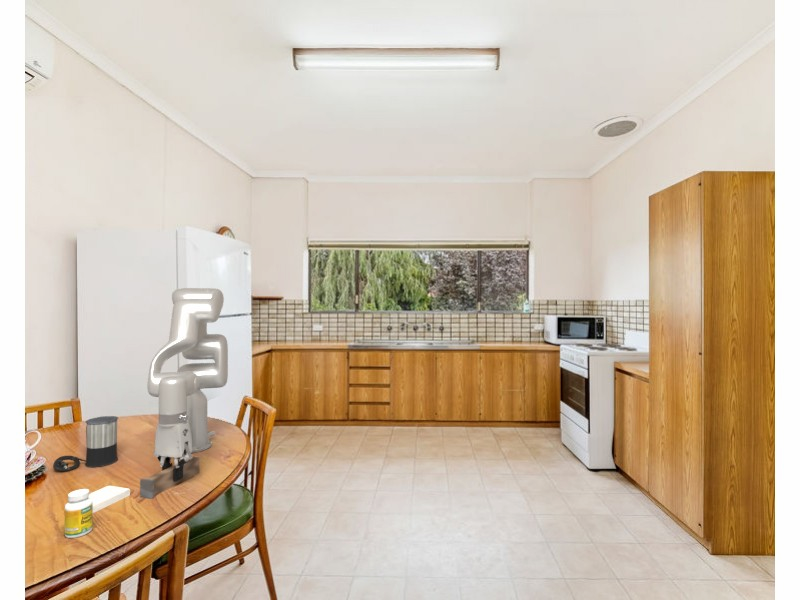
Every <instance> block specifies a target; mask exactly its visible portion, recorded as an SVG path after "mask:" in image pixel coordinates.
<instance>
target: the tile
mask: <svg viewBox="0 0 800 600" xmlns="http://www.w3.org/2000/svg"><path fill="white" fill-rule="evenodd" d="M129 496H131V489H130V488H127V487H121V486H116V485H115V486H114V485H110V484H109V485H107V486H104V487H102V488H100V489H97V490H95V491H92V492H91V493H90V492H89V498H91V499H92V501H93V514H94V513H96V512H98V511H100V510H102V509H105V508H107V507H108V506H111V505H113V504H115V503H118V502H119V501H122V500H123V499H125V498H127V497H129Z"/></svg>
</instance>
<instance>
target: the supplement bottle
mask: <svg viewBox="0 0 800 600" xmlns="http://www.w3.org/2000/svg"><path fill="white" fill-rule="evenodd" d="M89 494H90V489H88V488H82V489H76V490H73V491H71V492H69V493H68V494H67V500H68V502H67V503H65V506H64V536H65V538H68V539H76V538H81V537H83V536H85V535H87V534H89V533H91V531H92V530H93V528H94V527H93V526H94V525H93V524H94V521H93V519H94V516H93V514H94V513H93V501H92V499H91V498H89Z"/></svg>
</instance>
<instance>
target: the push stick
mask: <svg viewBox="0 0 800 600" xmlns="http://www.w3.org/2000/svg"><path fill="white" fill-rule="evenodd" d="M174 468H175V464H174V465H172V467H169V468H167V469H165V470H163V471H162V470H161V471H158V472H156V473H154V474H151V476H150V475H149V476H148V477H147V478H146V477H145V478H143V477H142V478H140V479H139V480H140V482H139V491H140V492H139V498H143V499H147V500H152V499H154V497H155V496H157V495H160V494H161V493H163V492H164V491H167V490H169V489H171V488H173V487H175V486H176V485H179V484H181V483H182V482H185V481H186V480H189V479H190V478H192V477H194V476H196V475H198V474H200V457H199V456H192V459H190V460H188V461H187V462H186V463H185V465H184V466H183V478H182V479H180V480H178V481H176V482H174V481H173V469H174Z"/></svg>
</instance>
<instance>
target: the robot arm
mask: <svg viewBox="0 0 800 600" xmlns="http://www.w3.org/2000/svg"><path fill="white" fill-rule="evenodd" d="M224 300H225V298H224V293H223V292H222V290H221V289H218V288H208V287H207V288H203V287H202V288H201V287H200V288H198V287H195V288H194V287H188V288H187V287H186V288H185V287H184V288H178V289H175V290H174V291H172V295H171V301H172V304H173V306H172V310H171V311H172V313H171V320H170V321H171V322H170V329H169V336H168V337H169V338H168V341H167V342H166V344H164V345H163V346H162V347H161V348H159V350H158V351H157V352H156V354H155V355H154V356H153V358H152V360H151V361H150V365H149V369H148V376H147V392H148V394H149V395H150V396H152V397H154V398H158V423H157V425H156V429H155V439H154V452H153V456H154V457H156V459H157V460H158V462H159V465H160V467H161V471H163V470H165V469H167V468H169V467H172V466H173V463H174V465H175V468H174V469H173V481H174V482H176V481H178V480H180V479H182V478H183V466H184V465H185V463H186V462H187V461H188V460H190V459H192V457H193V454H192V453H199V452H202V451H206V450H208V449H210V448H211V447H212V445H213V444H212V443H213V442H212V441H211V440H210V438H211V437H214V436H216V430H212V431H208V398H207V396H206V395H205V393H204V392H203V391H202V390H203V389H217V388H223V387H225V386H226V385H227V382H228V378H229V375H228V374H229V363H228V362H229V361H228V360H229V348H228V347H229V346H228V344H229V343H228V340H227V337H226V336H225V335H223V334H222V333H221V334H219V333H213V334H212V333H211V334H209V333H208V328H207V327H208V323H210V324H211V323H216V322H218V319H219V317H220V315H221V312H222V309H223V307H224ZM180 353H181V354H182V357H183V358H184V359H185V360H189V361H190V360H195V361H196V360H202V361H203V360H213V361H214V362H198V363H197V362H196V363H195V362H194V363H193V362H192V363H186V364H183V365H181V366H180V367H178V369H177V371H172V372H162V368H163V366H164V364H165V363H166V361H169V359H171V358H172V357H175V356H176V355H178V354H180ZM172 458H173V459H174V460H173V461H174V462H173V463H171V461H172Z"/></svg>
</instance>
